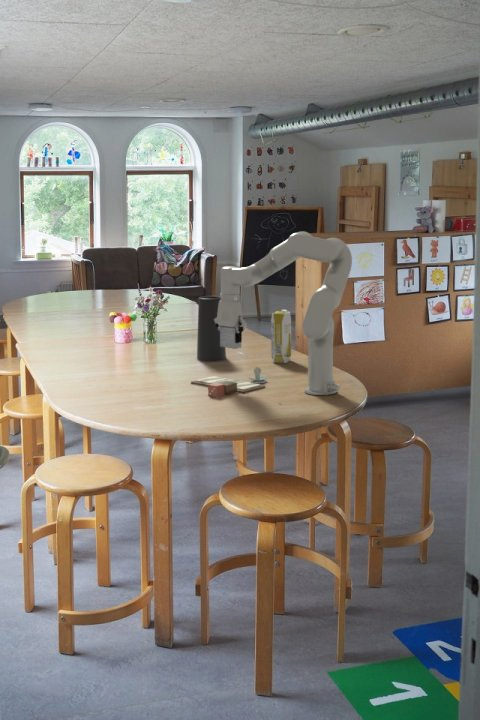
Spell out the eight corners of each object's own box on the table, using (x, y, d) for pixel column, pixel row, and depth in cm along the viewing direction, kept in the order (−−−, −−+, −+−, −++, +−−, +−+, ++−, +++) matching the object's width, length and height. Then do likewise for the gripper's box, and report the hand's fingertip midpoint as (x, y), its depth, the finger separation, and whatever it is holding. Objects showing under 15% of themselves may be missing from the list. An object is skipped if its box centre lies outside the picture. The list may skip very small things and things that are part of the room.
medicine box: (241, 347, 354) (241, 326, 352) (234, 349, 351) (234, 327, 349) (226, 345, 359) (226, 324, 357) (219, 347, 356) (219, 325, 354)
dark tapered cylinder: (231, 358, 414) (230, 297, 408) (207, 362, 406) (205, 300, 401) (215, 354, 425) (214, 294, 419) (191, 358, 418) (189, 297, 412)
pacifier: (269, 383, 363) (264, 380, 369) (268, 368, 362) (264, 365, 367) (251, 385, 361) (247, 381, 367) (251, 370, 360) (247, 366, 365)
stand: (237, 392, 347) (236, 382, 346) (226, 395, 343) (226, 385, 342) (225, 390, 351) (225, 380, 350) (215, 393, 346) (215, 383, 346)
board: (265, 387, 355) (265, 384, 354) (243, 393, 345) (243, 390, 345) (212, 378, 374) (212, 375, 374) (191, 383, 364) (191, 380, 364)
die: (224, 384, 342) (216, 386, 339) (224, 395, 343) (216, 397, 340) (216, 382, 345) (207, 384, 342) (216, 393, 346) (208, 396, 343)
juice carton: (287, 364, 400) (286, 311, 395) (270, 363, 402) (269, 310, 398) (292, 360, 409) (292, 308, 404) (276, 359, 411) (275, 308, 406)
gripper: (207, 296, 354) (208, 339, 357) (240, 300, 342) (240, 345, 346) (220, 295, 359) (220, 337, 363) (253, 298, 348) (252, 342, 351)
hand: (230, 341), depth 354 cm, fingers closed on medicine box, 8 cm apart
